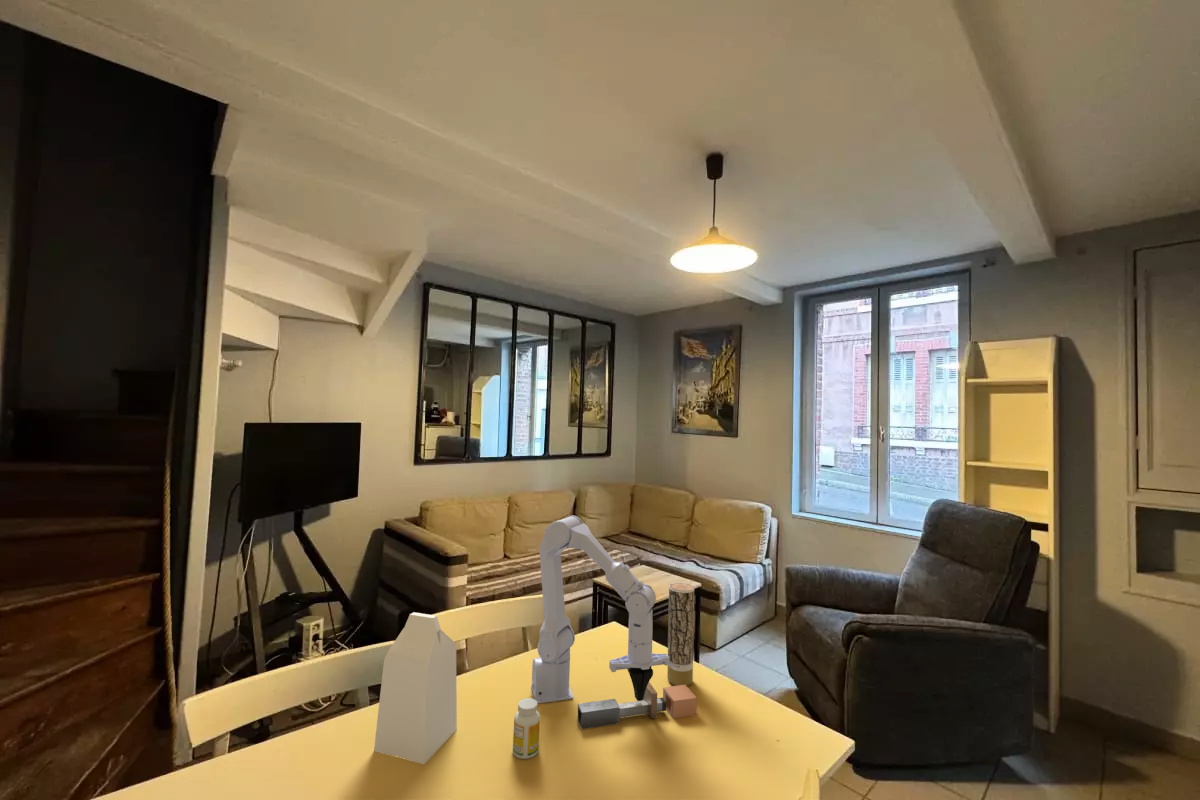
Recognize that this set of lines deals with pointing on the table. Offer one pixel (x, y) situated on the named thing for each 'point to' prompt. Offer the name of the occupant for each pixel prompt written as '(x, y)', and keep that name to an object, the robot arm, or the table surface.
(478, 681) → the table surface
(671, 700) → the socket block
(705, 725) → the table surface
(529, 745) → the supplement bottle
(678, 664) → the brown cylindrical piece
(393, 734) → the milk
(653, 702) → the tube
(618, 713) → the sleeve
